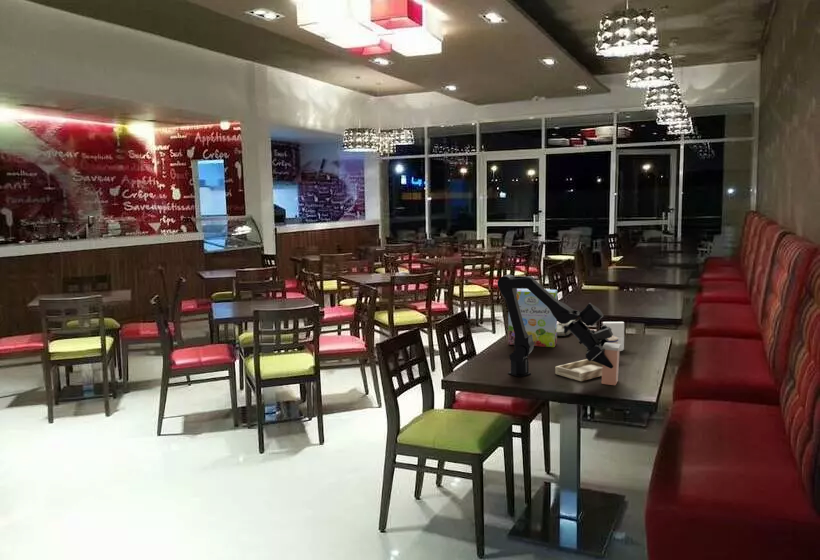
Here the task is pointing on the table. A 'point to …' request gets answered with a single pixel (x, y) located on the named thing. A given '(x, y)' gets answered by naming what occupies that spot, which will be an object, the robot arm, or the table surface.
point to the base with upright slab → (617, 331)
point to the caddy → (612, 373)
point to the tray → (580, 370)
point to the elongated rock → (562, 329)
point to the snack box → (535, 319)
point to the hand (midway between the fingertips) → (613, 365)
